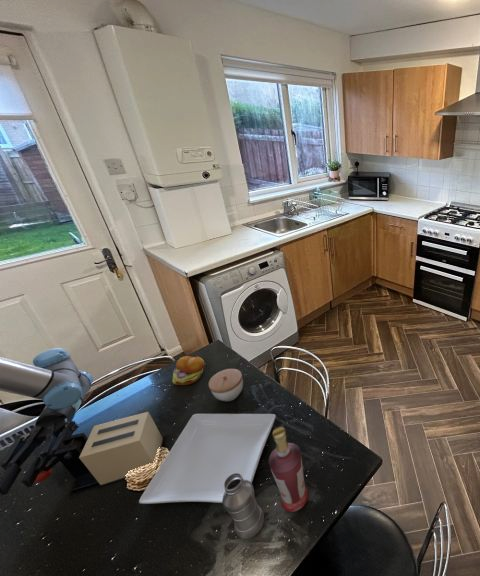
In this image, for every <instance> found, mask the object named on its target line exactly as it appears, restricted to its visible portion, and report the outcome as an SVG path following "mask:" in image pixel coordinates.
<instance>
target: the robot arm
mask: <svg viewBox="0 0 480 576" xmlns="http://www.w3.org/2000/svg"><path fill="white" fill-rule="evenodd" d="M32 364H33V365H32ZM32 364H29V363H25V362H21V361H18V360H14V359H11V358H6V357H4V356H0V392H3V393H4V392H5V393H9V394H13V395H19V396H23V397H28V398H31V399H37V400H41V401H43V404H44V405H45V407H44V408H43V409H42V410H41V412H40V414H39V416H38V417H37V418H36V421H35V425H34V426H33V428H32V429H30V430H29V432H28V433H25V434H23V435H22V434H16V436H14V442H13V443H12V444H11V446H10V448H9V450H8V451H7V452H6V454H5V456H4V457H3V459H2V460H1V462H0V467H1V468H2V469H3V470H4V472H3V473H2V475H1V476H0V480H1V481H0V494H1V495H2V496H5V495H7V494H9V491H10V489H11V488H12V487H13V485H14V483H15V482H16V479H17V478H18V477H19V475H20V473H21V472H22V470H23V469H22V468H21V466H22V465H23V464H25V462H26V461H27V459H29V457H30V456H31V455H32V454H33V453H34V452H35V450H36V449H37V447H40V446H41V445H42V444H43V446H42V450H41V452H39V453H38V455H39V456H36V457H35V458H34V460H33V462H32V463H31V465H30V466H29V468H28V469H27V472H26V473H25V475H24V477H23V478H22V480H21V483H22V484H23V485H24V486H25V487H26V488H32V487H33V485H34V483H35V482H34V481H35V480H36V478H37V476H38V474H39V473H40V471H43V470H44V468H45V467H46V465H48V464H49V462H50V461H52V459H53V458H54V457H55V458H56V456H55V455H54V454H55V452H56V451H58V450H61V449H64V448H65V444H64V443H63V442H62V439H63V438H64V437H68V436H72V435H74V433H75V432H76V431H77V430H78V429H79V424H77V422H76V421H75V420H74V417H75V415H76V414H77V412H78V410H79V408H80V406H81V405H82V403H83V401H84V399H85V397H86V396H87V394H88V392H89V391H90V390H91V387H92V384H93V382H94V377H93V376H92V374H91V373H89V372H87V371H84V370H80V369H78V367H77V365H76V364H75V362H74V360H73V359H72V357H71V355H70V354H69V353H68V352H67V350H66V349H65V348H62V347H55V348H54V347H53V348H50V349H47V350H44V351H42V352H39V354H37V355H36V356H34V358H33V359H32Z"/></svg>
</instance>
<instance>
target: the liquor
mask: <svg viewBox="0 0 480 576" xmlns="http://www.w3.org/2000/svg"><path fill="white" fill-rule="evenodd" d="M272 437H273V441H274V442H275V445H276V446H275V448H274V449H273V450H272V451H271V453H270V454H269V457H268V465H269V468H270V472H271V473H272V477H273V480H274V481H275V484H276V486H277V490H278V491H279V494H280V496H281V499H280V503H281V507H282V508H283V510H285V511H287V512H289V513H294V512H297V511H300V510H301V509H302V508H303V507H304V506H305V504H306V503H307V502H308V499H309V491H308V488H307V487H306V483H305V476H304V465H303V458H302V451H301V448H300V447H299V445H298V444H295V443H293V442H288V440H287V433H286V429H285V427H284V426H277V427H275V428H274V429H273V431H272Z"/></svg>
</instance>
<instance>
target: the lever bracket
mask: <svg viewBox="0 0 480 576" xmlns="http://www.w3.org/2000/svg"><path fill="white" fill-rule="evenodd" d="M88 438H89V437H88V436H87V435H86V433H85V432H80V433H76V434H72V436H68V437H64V438H63V439H62V442H63V443H64V444H65V446H66V445H67V444H68V443H69V442H70V441H72V440H73V439H76V440H79V441H82V442H83V443H82V445H81V447H80V448H79V447H78V445H76V446H72V447H68V448H65V449H61V450H58V451H56V452H55V454H54V455H55V456H56V457H57V458H58V459H59V463H61V464H62V466H63V467H64V468H65V469H66V470H67V472H69V474H70V475H71V476H72V477H73V478H74V479H75V481H74V483H73V485H72V488H71V489H70V490H71V493H77V492H80V491H84V490H87V489H90V488H94V487H96V486H100V484H99V482H98V481H97V480H96V479H95V477H94V476H93V475H92V473H91V472H90V471H89V470H88V468H87V467H86V466H85V465H84V463H83V462H82V461H81V459H80V458H79V457H80V455H81V453H82V450H83V448H84V446H85V444H86V442H87V440H88ZM56 457H55V458H56Z"/></svg>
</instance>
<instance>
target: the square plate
mask: <svg viewBox="0 0 480 576" xmlns="http://www.w3.org/2000/svg"><path fill="white" fill-rule="evenodd" d="M276 417H277V415H276V414H274V413H194V414H192V416H190V418H189V420H188V422H187V423H186V424H185V427H184V428H183V430H182V431H181V433H180V434H179V436H178V437H177V439H176V441H175V443H174V444H173V446H172V447H171V449H170V450H169V452H168V453H167V455H166V456H165V459H163V461H162V463H161V464H160V466H159V467H158V468H157V471H156V473H155V474H154V476H153V477H152V478H151V481H150V482H149V484H147V487H146V488H145V490H144V491H143V493H142V494H141V496H140V498H139V500H138V503H139V504H141V505H151V504H166V503H167V504H168V503H187V502H188V503H189V502H191V503H192V502H194V503H195V502H197V503H198V502H199V503H215V504H216V503H218V504H222V500H223V494H224V492H225V488H224V482H225V480H226V479H227V478H228V477H229V476H230V475H231V474H234V473H239V474H241V475H242V478H243V479H246V480H248V481H250V482H251V483H252V484H253V481H254V477H255V474H256V471H257V469H258V465H259V462H260V459H261V456H262V455H263V452H264V448H265V446H266V443H267V440H268V438H269V435H270V433H271V430H272V428H273V426H274V423H275V421H276Z"/></svg>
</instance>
